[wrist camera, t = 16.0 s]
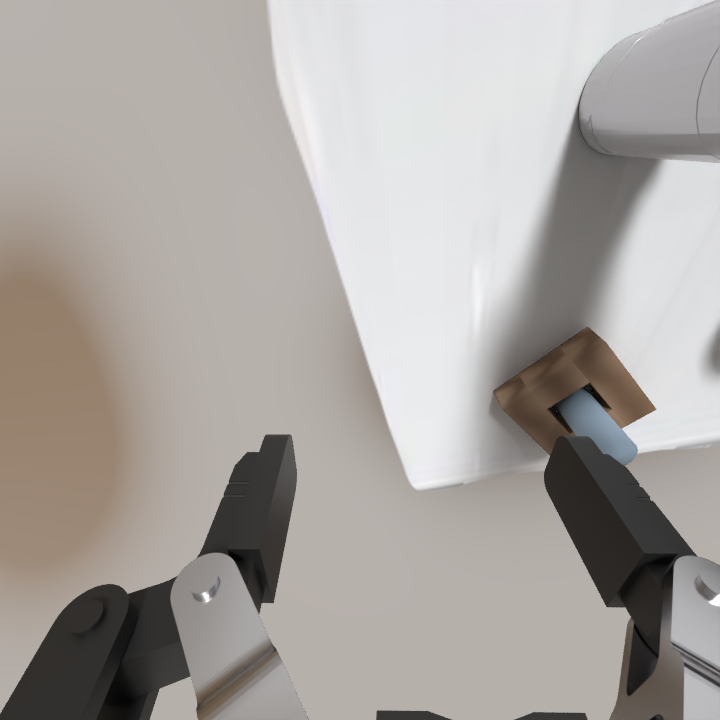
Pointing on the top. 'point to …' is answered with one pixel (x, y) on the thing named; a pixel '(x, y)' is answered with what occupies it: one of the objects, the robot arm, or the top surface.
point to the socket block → (571, 388)
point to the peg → (596, 425)
